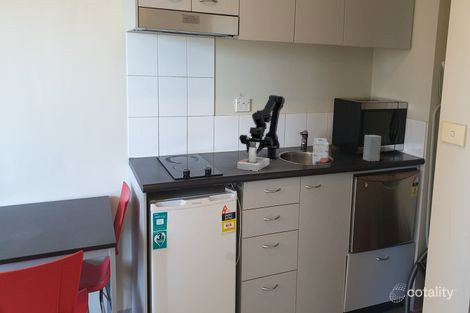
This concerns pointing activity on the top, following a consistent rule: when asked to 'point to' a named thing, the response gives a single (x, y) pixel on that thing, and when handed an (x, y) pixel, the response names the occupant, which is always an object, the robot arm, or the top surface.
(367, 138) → the skincare box
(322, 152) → the ink cartridge box
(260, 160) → the socket block
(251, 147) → the white bottle
